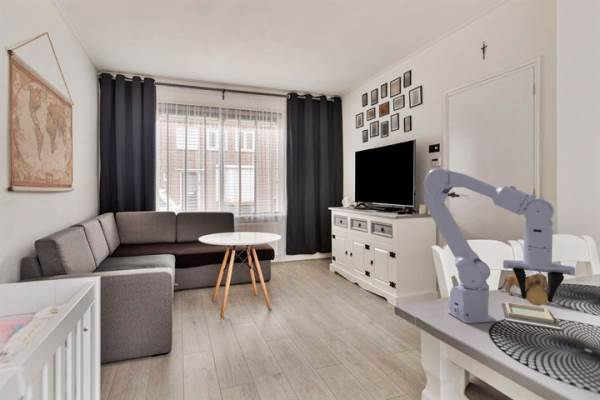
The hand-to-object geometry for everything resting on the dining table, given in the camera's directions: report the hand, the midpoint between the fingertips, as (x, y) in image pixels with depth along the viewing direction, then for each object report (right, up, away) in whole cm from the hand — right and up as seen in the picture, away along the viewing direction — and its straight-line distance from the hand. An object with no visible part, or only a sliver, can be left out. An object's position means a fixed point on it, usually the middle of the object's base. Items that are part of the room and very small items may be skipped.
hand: (536, 299), depth 81 cm
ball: (0, +1, 0) cm, 1 cm away
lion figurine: (+16, -8, +28) cm, 33 cm away
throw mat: (+6, -8, +10) cm, 14 cm away
